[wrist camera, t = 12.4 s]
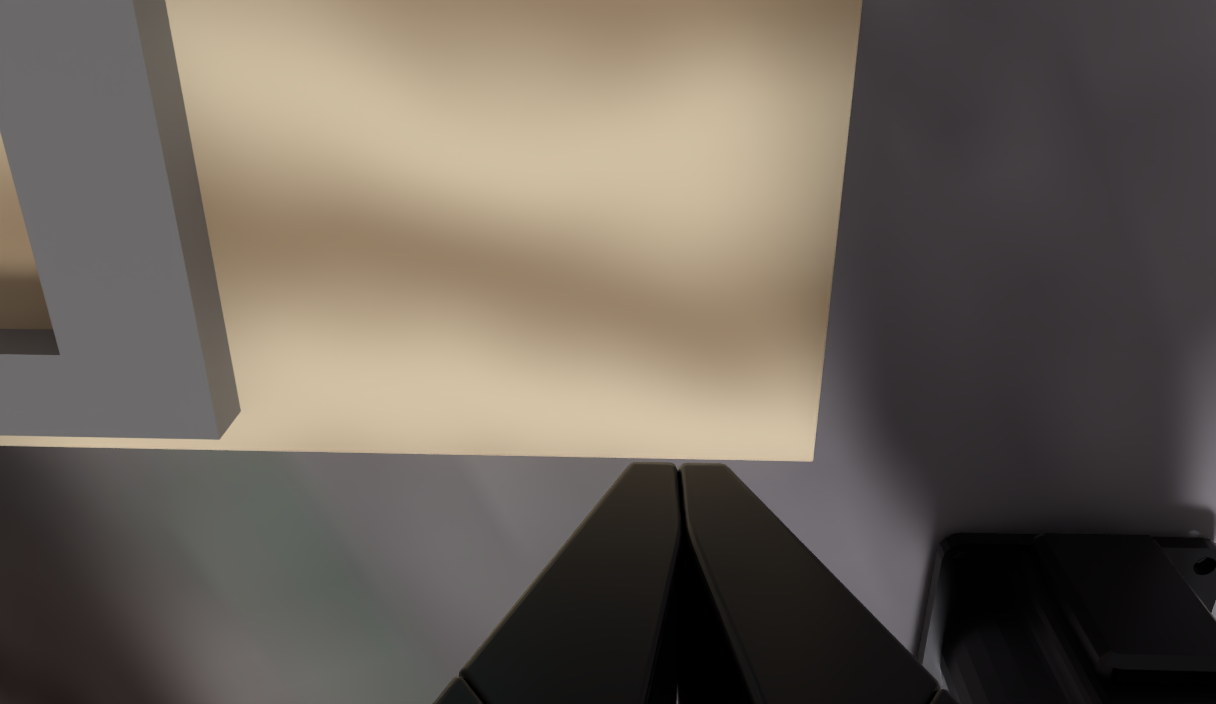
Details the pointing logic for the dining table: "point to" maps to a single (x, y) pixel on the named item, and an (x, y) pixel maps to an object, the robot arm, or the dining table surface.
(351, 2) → the patch board
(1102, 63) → the dining table surface
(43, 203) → the gray square frame
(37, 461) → the dining table surface
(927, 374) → the dining table surface
